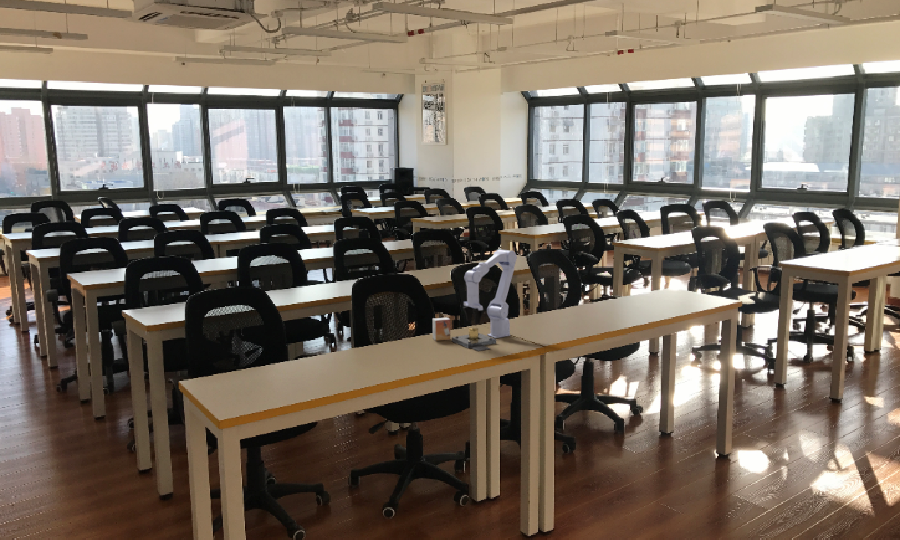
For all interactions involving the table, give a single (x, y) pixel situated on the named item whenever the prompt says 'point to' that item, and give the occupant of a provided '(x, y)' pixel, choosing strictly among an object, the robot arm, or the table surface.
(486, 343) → the housing
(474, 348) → the mat
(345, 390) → the table surface
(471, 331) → the brass cylinder
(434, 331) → the small box
